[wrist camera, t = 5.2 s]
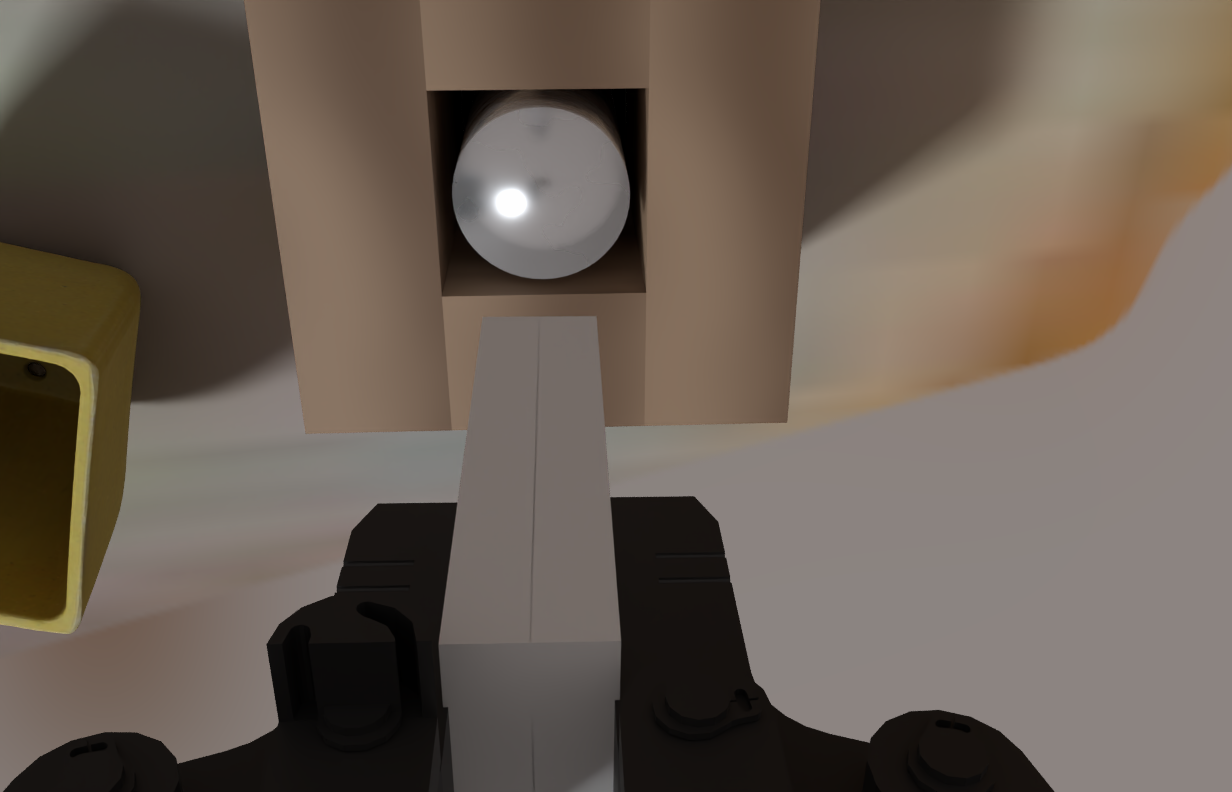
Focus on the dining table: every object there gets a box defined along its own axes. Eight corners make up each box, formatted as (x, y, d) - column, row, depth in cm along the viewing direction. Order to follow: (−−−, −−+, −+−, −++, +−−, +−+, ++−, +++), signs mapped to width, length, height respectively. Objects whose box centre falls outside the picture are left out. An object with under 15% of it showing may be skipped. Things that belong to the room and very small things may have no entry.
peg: (478, 166, 35) (457, 280, 27) (471, 29, 33) (446, 109, 25) (612, 164, 35) (629, 277, 27) (611, 28, 33) (630, 107, 26)
